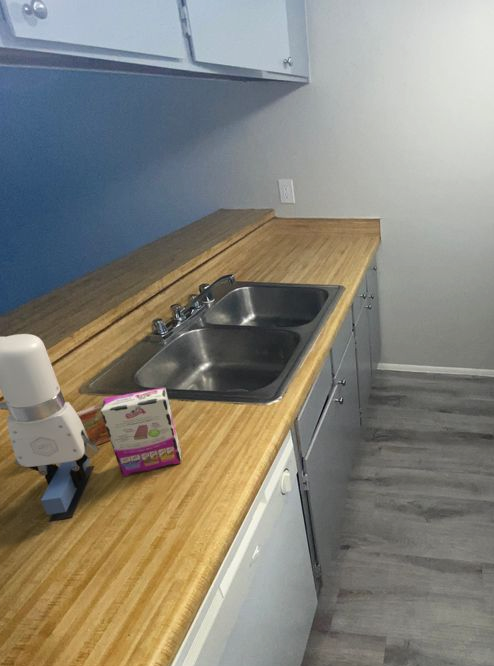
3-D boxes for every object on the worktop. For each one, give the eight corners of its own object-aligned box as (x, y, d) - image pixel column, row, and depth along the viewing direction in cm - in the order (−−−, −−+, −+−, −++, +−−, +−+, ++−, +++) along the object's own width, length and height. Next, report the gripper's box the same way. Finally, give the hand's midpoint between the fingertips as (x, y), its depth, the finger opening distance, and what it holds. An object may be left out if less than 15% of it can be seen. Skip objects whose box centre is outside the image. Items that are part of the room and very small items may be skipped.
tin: (59, 461, 98) (46, 429, 94) (54, 454, 100) (42, 422, 96) (135, 430, 108) (126, 399, 104) (130, 424, 110) (121, 394, 106)
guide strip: (48, 521, 85) (48, 520, 85) (74, 469, 97) (74, 468, 96) (71, 517, 86) (71, 517, 85) (94, 466, 97) (94, 465, 97)
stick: (46, 515, 83) (40, 500, 82) (73, 462, 95) (68, 449, 94) (66, 512, 84) (60, 497, 82) (90, 460, 96) (85, 446, 94)
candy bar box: (181, 449, 103) (166, 385, 95) (181, 463, 99) (166, 398, 91) (123, 462, 99) (102, 396, 91) (121, 477, 95) (99, 410, 87)
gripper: (-31, 423, 76) (10, 506, 84) (84, 410, 80) (112, 491, 88) (-9, 398, 82) (27, 478, 91) (97, 387, 86) (122, 464, 95)
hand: (69, 483), depth 89 cm, fingers closed on stick, 3 cm apart
